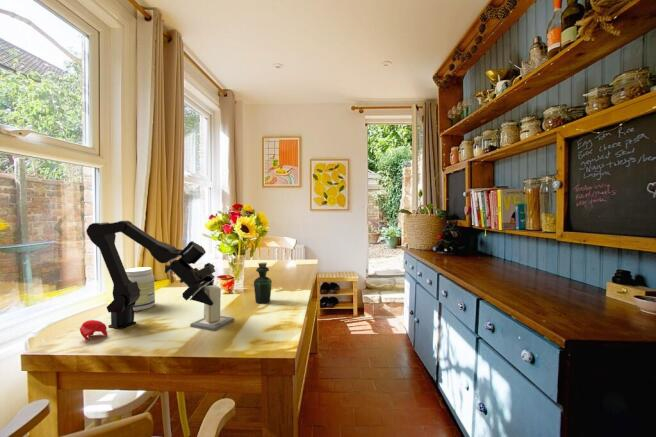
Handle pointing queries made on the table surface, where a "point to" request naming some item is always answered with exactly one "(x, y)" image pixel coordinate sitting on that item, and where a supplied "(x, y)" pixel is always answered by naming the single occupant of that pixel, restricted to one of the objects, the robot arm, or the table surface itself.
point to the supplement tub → (143, 286)
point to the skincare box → (213, 311)
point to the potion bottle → (262, 285)
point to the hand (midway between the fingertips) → (215, 301)
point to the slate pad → (212, 323)
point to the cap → (92, 328)
